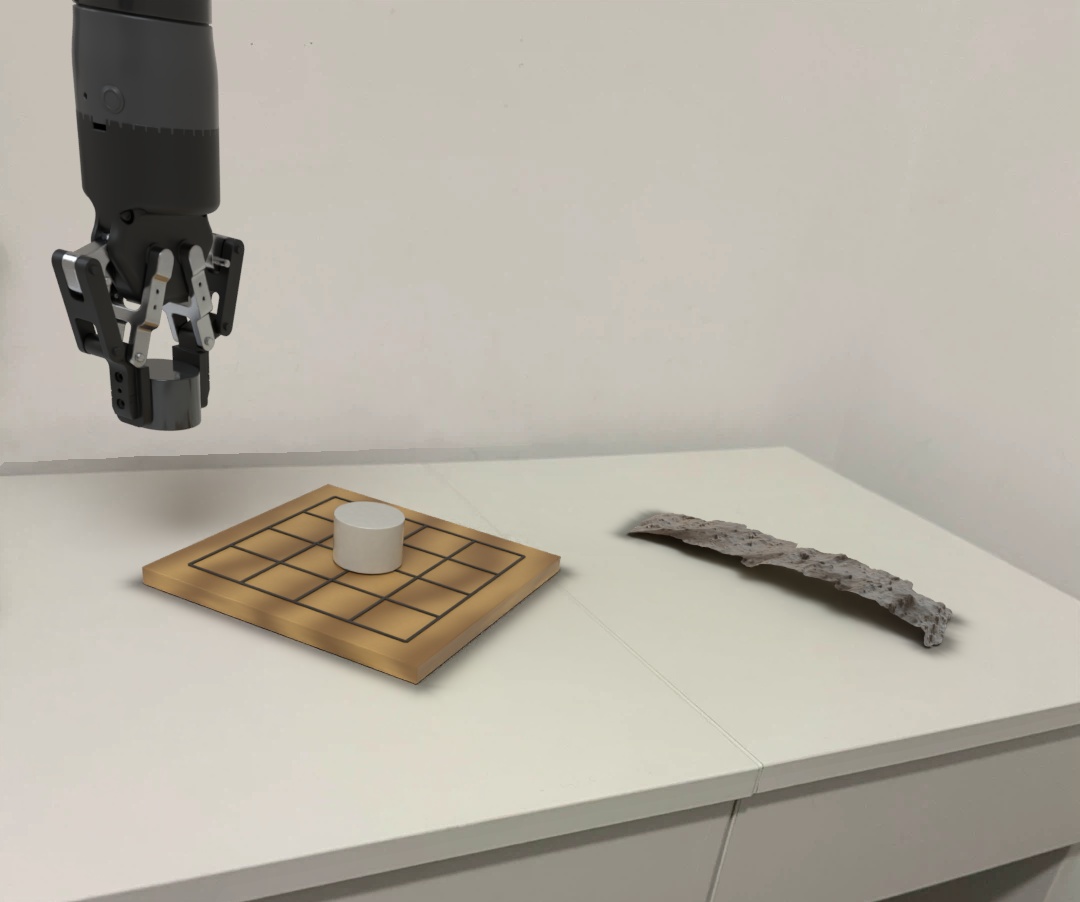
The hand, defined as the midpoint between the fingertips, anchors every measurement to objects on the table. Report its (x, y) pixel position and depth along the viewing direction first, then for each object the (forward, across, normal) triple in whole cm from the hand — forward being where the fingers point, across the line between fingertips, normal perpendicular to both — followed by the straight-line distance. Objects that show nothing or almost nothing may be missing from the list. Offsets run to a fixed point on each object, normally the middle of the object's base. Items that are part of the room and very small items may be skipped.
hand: (163, 413), depth 68 cm
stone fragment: (+8, -24, +38) cm, 46 cm away
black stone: (0, 0, 0) cm, 0 cm away
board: (+9, -4, +13) cm, 16 cm away
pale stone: (+7, -4, +14) cm, 16 cm away
